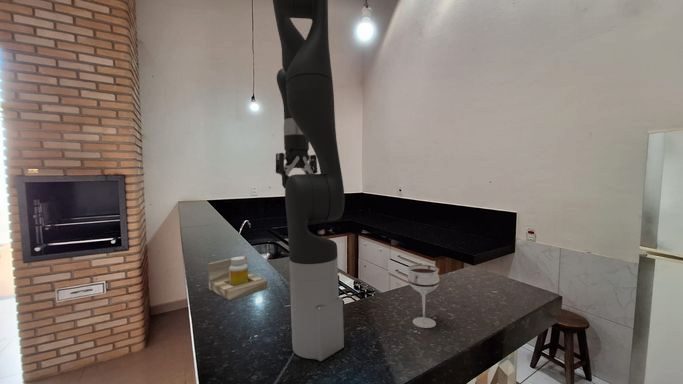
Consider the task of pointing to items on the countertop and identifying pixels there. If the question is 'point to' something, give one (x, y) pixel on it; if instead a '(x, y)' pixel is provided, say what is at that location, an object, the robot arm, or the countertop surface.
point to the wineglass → (423, 288)
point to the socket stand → (220, 281)
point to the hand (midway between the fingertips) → (298, 187)
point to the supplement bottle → (238, 271)
